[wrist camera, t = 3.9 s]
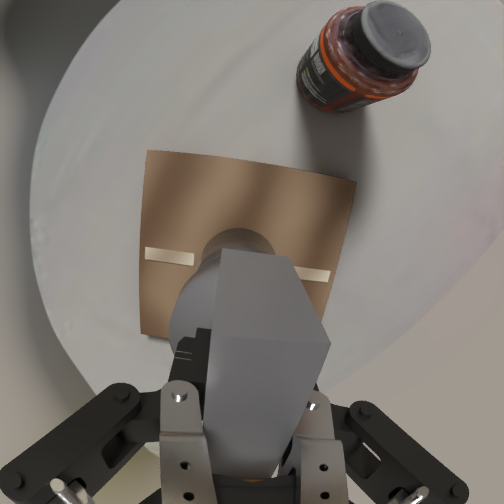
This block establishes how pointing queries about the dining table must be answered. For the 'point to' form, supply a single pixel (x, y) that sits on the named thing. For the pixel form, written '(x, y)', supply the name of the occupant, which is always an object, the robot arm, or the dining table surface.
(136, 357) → the dining table surface
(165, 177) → the base
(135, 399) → the robot arm
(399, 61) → the supplement bottle
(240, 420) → the wing cap
